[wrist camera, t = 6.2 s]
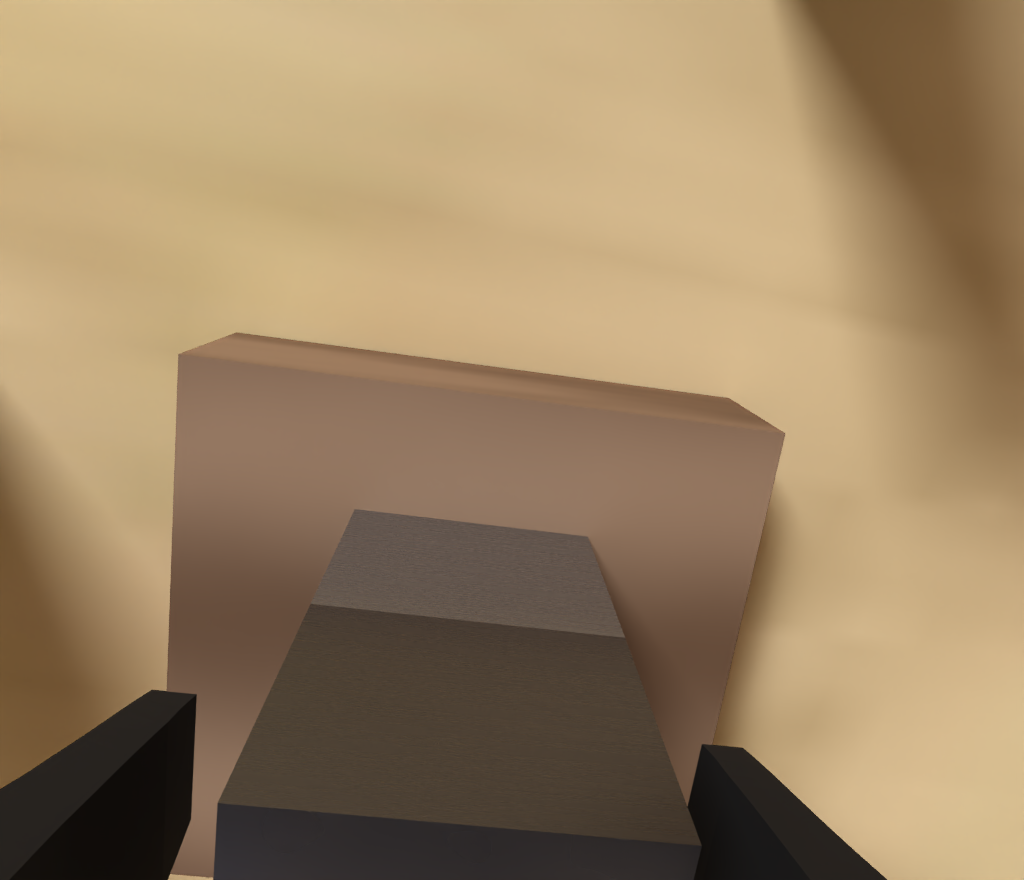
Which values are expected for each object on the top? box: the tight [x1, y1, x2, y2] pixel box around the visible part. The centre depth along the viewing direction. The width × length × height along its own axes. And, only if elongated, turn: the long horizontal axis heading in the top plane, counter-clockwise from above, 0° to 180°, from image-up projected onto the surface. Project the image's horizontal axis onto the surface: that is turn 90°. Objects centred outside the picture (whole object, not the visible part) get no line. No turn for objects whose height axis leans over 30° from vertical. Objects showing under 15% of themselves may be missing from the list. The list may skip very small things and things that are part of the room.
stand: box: [167, 333, 785, 877], centre depth 15 cm, size 10×10×3 cm
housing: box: [213, 509, 702, 880], centre depth 10 cm, size 6×4×8 cm, turn 172°
